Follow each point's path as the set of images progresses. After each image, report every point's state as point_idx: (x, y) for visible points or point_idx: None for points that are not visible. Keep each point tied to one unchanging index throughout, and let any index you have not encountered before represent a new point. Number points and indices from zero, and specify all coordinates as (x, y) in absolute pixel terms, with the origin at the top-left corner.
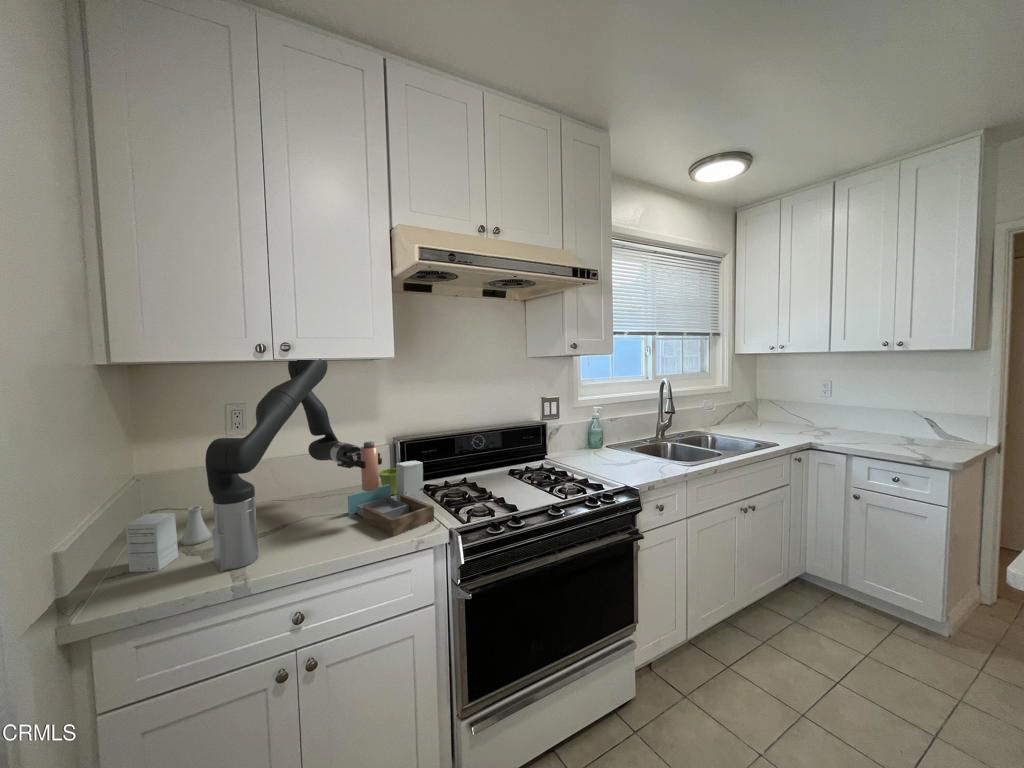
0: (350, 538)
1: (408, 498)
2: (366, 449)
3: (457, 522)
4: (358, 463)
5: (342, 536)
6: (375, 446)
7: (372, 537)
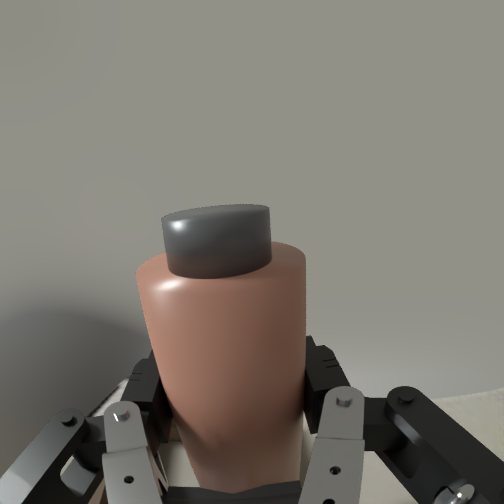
0: (362, 474)
1: (100, 493)
2: (274, 244)
3: (118, 395)
4: (335, 362)
5: (379, 495)
6: (161, 261)
7: (308, 453)
